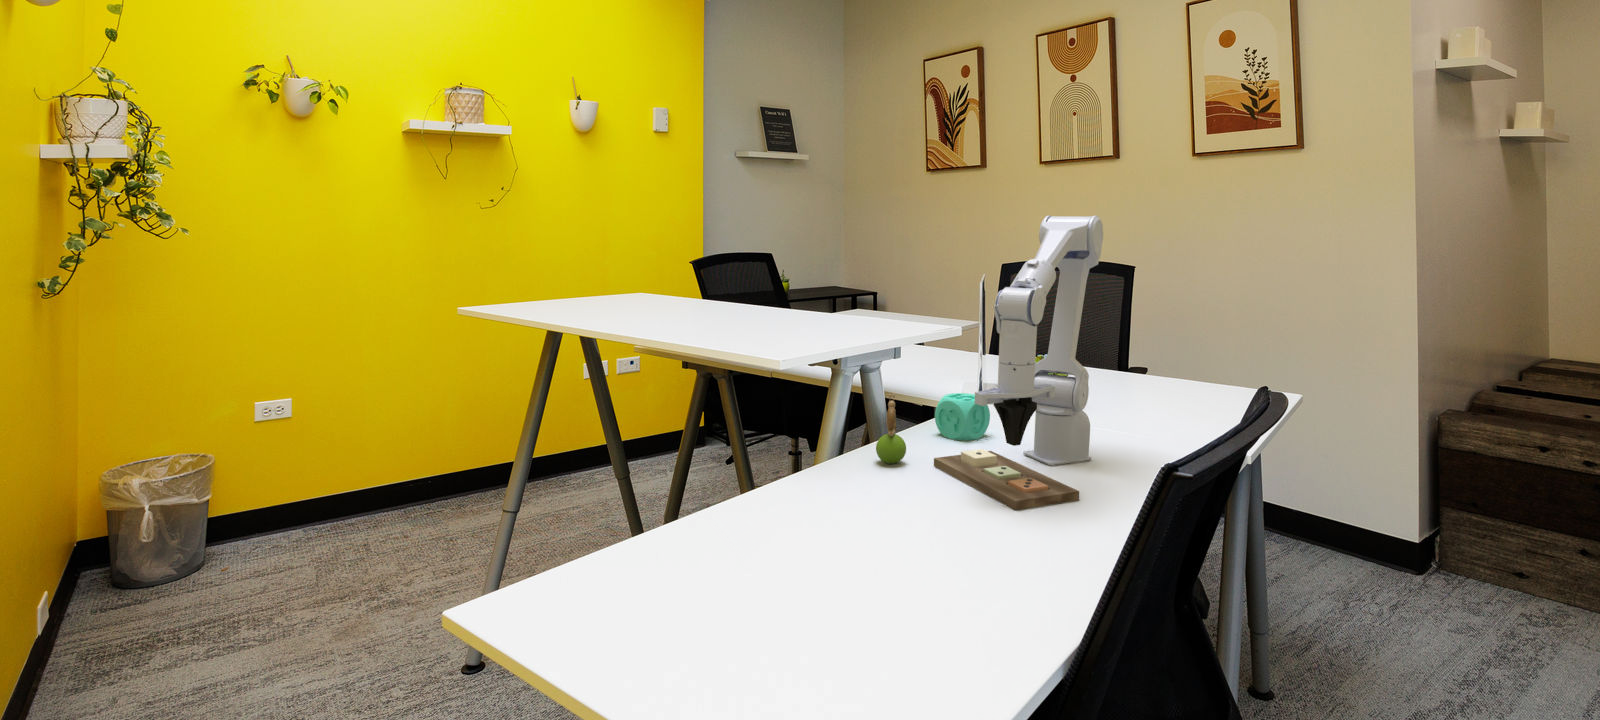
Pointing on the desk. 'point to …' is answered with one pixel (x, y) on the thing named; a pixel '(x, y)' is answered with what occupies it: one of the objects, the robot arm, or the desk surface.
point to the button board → (1001, 488)
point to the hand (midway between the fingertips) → (1013, 443)
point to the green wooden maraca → (891, 439)
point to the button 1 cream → (978, 458)
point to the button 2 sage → (1002, 472)
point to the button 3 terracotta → (1028, 485)
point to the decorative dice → (961, 417)
